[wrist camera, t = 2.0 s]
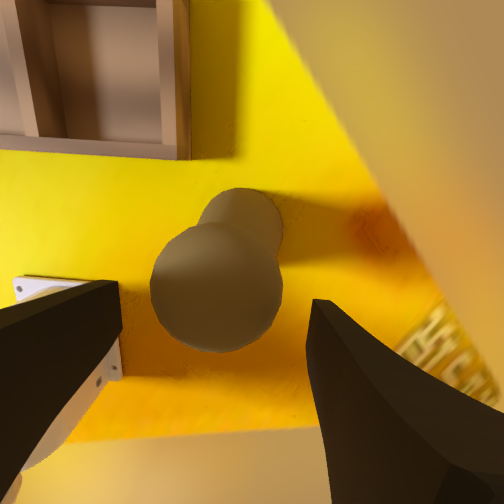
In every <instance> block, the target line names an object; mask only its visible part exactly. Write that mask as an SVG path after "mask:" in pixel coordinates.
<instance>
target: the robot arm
mask: <svg viewBox="0 0 504 504" xmlns="http://www.w3.org/2000/svg"><path fill="white" fill-rule="evenodd" d="M13 286H14V290H15V294H16V298H17V302H16V303H15V304H13V305H11V306H9V307H6V308H3V309H0V504H15V502H16V498H17V495H18V493H19V490H20V487H21V484H22V475H21V473H20V472H22V471H24V470H27V469H29V468H30V467H33V466H34V465H36V464H38V463H39V462H41V461H42V460H44V459H45V458H47V457H48V456H49V455H51V454H52V453H53V452H54V451H55V450H56V449H58V448H59V447H60V446H61V445H62V444H63V443H64V441H65V440H66V439H67V438H68V436H69V435H70V434H71V432H72V431H73V430H74V428H75V427H76V425H77V424H78V423H79V421H80V420H81V419H82V417H83V416H84V414H85V413H86V412H87V410H88V409H89V408H90V406H91V405H92V403H93V402H94V401H95V399H96V398H97V397H98V395H99V394H100V393H101V391H102V390H103V388H104V387H105V386H106V384H107V383H108V382H109V380H110V381H119V380H120V379H121V378H122V376H123V373H122V364H121V356H120V347H119V339H118V336H119V334H120V332H121V330H122V329H123V326H122V316H121V307H120V297H119V287H118V281H112V280H97V281H92V282H89V281H77V280H65V279H53V278H41V277H30V276H17V277H15V278H14V279H13ZM21 287H22V288H21ZM306 358H307V368H308V374H309V379H310V384H311V388H312V393H313V397H314V401H315V406H316V410H317V415H318V419H319V423H320V428H321V432H322V437H323V442H324V447H325V452H326V461H327V468H328V476H329V483H330V490H331V499H332V504H504V413H502V412H500V411H497V410H495V409H493V408H491V407H489V406H487V405H485V404H483V403H481V402H479V401H477V400H475V399H473V398H471V397H469V396H467V395H465V394H464V393H462V392H460V391H458V390H456V389H454V388H453V387H451V386H449V385H447V384H445V383H443V382H442V381H440V380H438V379H436V378H435V377H433V376H431V375H429V374H428V373H426V372H424V371H423V370H421V369H420V368H418V367H417V366H415V365H413V364H412V363H410V362H409V361H407V360H406V359H404V358H402V357H401V356H400V355H398V354H397V353H395V352H394V351H392V350H391V349H390V348H388V347H387V346H386V345H384V344H383V343H382V342H380V341H379V340H378V339H376V338H375V337H374V336H372V335H371V334H370V333H369V332H367V331H366V330H365V329H364V328H362V327H361V326H360V325H359V324H358V323H356V322H355V321H354V320H353V319H352V318H351V317H350V316H348V315H347V314H346V313H345V312H344V311H343V310H341V309H340V308H339V307H338V306H337V305H336V304H334V303H333V302H332V301H330V300H321V299H313V302H312V308H311V314H310V321H309V327H308V334H307V340H306ZM115 366H116V367H115Z"/></svg>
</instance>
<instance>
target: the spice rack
mask: <svg viewBox="0 0 504 504" xmlns="http://www.w3.org/2000/svg"><path fill="white" fill-rule="evenodd" d="M0 149H5V150H21V151H37V152H53V153H68V154H84V155H100V156H116V157H131V158H147V159H163V160H191V87H190V5H189V0H0Z"/></svg>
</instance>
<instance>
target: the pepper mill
mask: <svg viewBox="0 0 504 504" xmlns="http://www.w3.org/2000/svg"><path fill="white" fill-rule="evenodd" d="M282 237H283V223H282V219H281V215H280V212H279V211H278V209H277V208H276V206H275V205H274V203H273V202H272V201H271V200H270V199H268V198H267V197H266V196H265V195H264V194H262V193H260V192H257V191H255V190H252V189H249V188H234V189H230V190H226V191H223V192H221V193H220V194H219V195H217V196H216V197H214V198H213V199H212V200H211V201H210V202H209V204H208V205H207V206H206V208H205V209H204V211H203V213H202V215H201V217H200V219H199V221H198V224H197V226H193V227H190V228H188V229H187V230H185V231H184V232H182V233H181V234H179V235H178V236H176V237H175V238H173V239H172V240H171V241H169V242H168V243H167V245H166V246H165V248H164V249H163V250H162V252H161V253H160V255H159V256H158V257H157V259H156V262H155V265H154V268H153V272H152V276H151V279H150V292H151V302H152V305H153V307H154V310H155V312H156V314H157V317H158V319H159V321H160V323H161V324H162V325H163V326H164V328H165V329H166V330H167V331H168V332H169V333H170V335H171V336H173V337H174V338H176V339H177V340H179V341H180V342H181V343H183V344H184V345H186V346H189V347H191V348H194V349H197V350H200V351H203V352H215V353H223V352H228V351H234V350H238V349H240V348H242V347H244V346H246V345H248V344H250V343H252V342H253V341H255V340H257V339H259V338H260V337H261V336H262V335H263V334H264V333H265V332H266V331H267V330H268V329H269V327H270V326H271V325H272V322H273V320H274V318H275V316H276V314H277V312H278V310H279V307H280V305H281V301H282V289H283V282H282V276H281V273H280V269H279V265H278V261H277V259H276V256H277V253H278V250H279V247H280V244H281V241H282Z"/></svg>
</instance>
